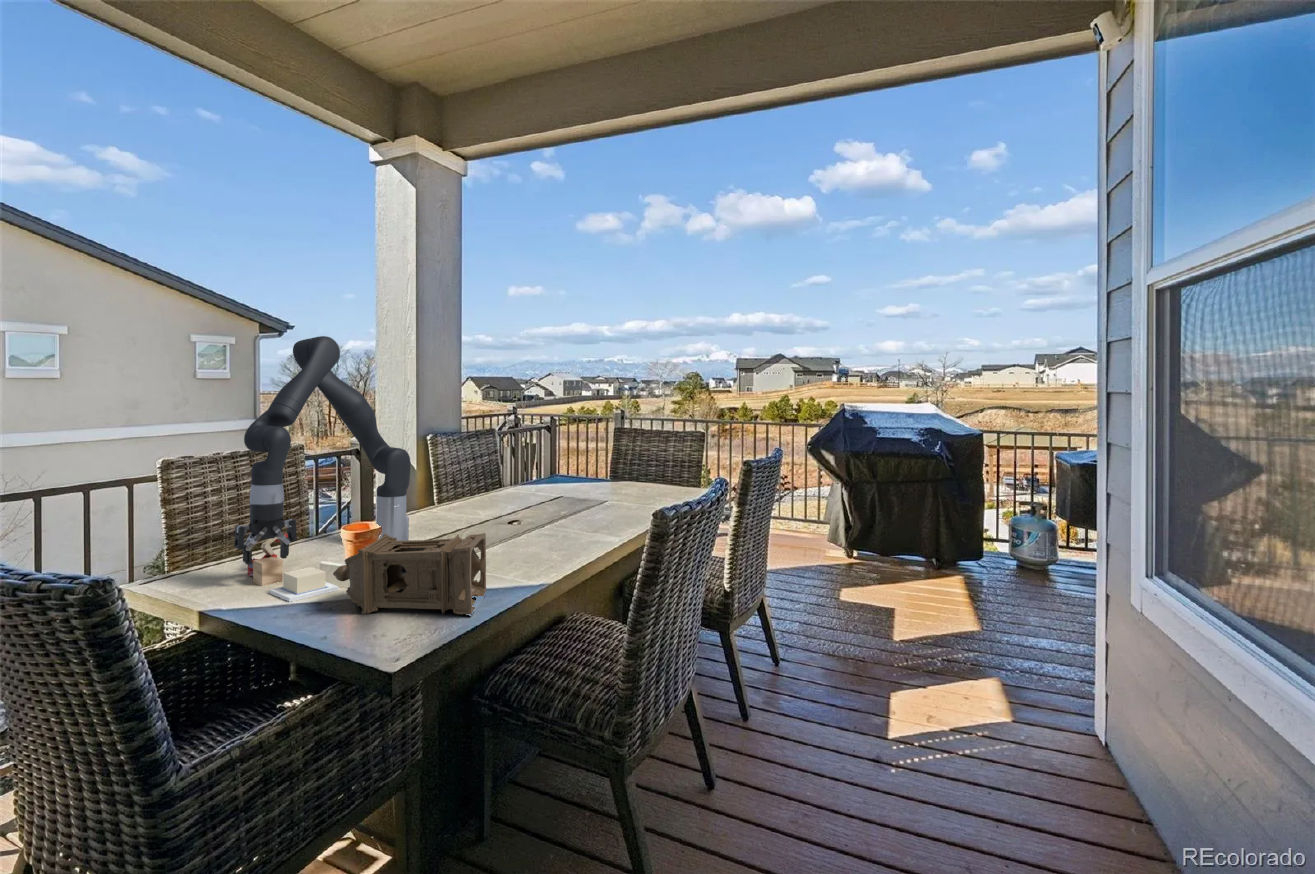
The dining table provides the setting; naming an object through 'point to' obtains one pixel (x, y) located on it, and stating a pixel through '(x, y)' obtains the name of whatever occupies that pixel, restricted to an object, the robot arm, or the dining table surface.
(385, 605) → the brown stone lantern
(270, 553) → the toy fire truck
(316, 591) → the board
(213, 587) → the dining table surface
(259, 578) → the oak block
